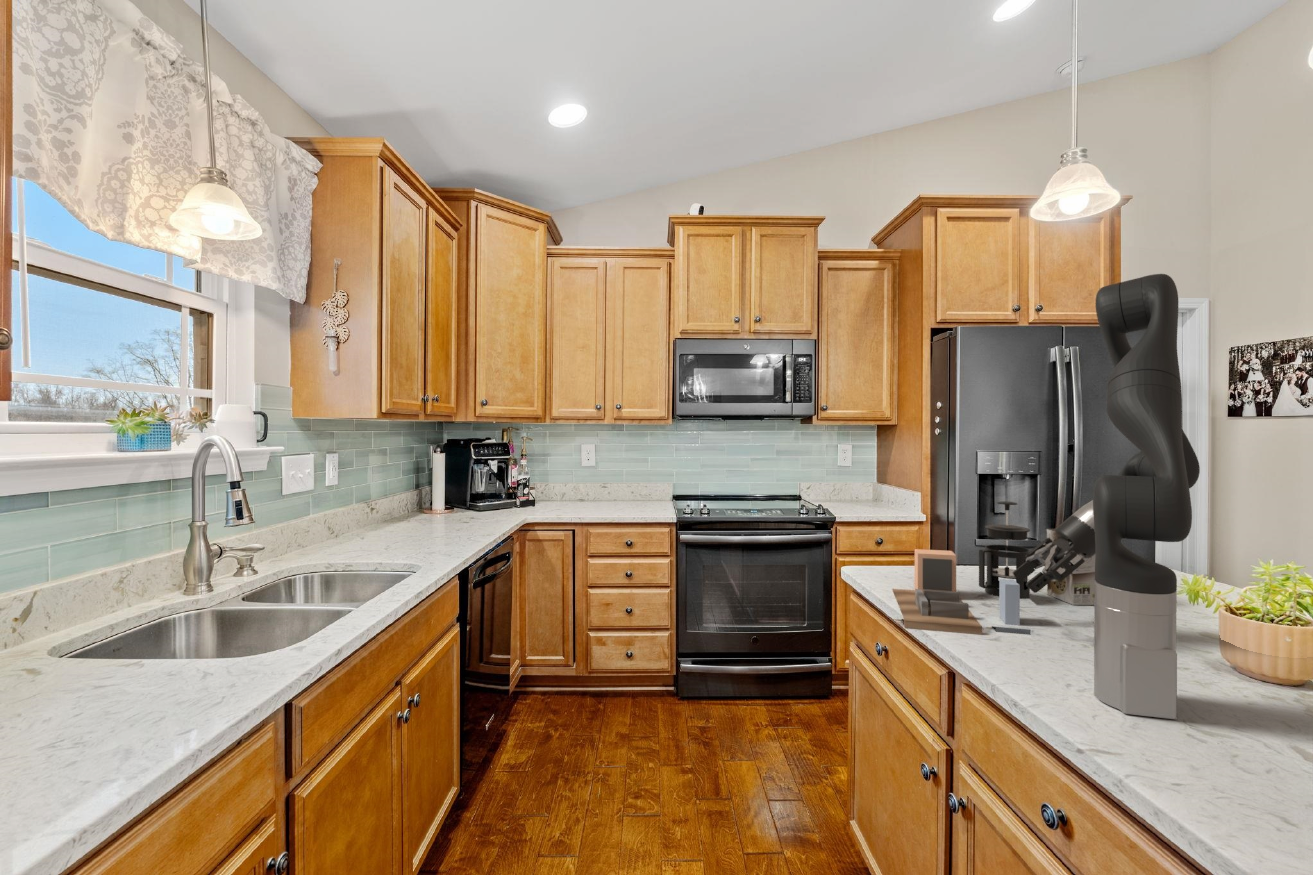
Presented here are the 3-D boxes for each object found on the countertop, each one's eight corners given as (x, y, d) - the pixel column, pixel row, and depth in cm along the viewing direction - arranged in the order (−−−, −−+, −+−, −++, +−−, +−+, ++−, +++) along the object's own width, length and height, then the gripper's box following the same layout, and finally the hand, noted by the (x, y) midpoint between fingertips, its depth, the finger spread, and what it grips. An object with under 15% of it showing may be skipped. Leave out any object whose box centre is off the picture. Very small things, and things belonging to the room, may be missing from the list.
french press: (1014, 593, 140) (1015, 498, 140) (1043, 604, 131) (1043, 503, 130) (968, 594, 139) (968, 499, 139) (994, 606, 130) (994, 504, 129)
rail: (982, 634, 112) (982, 611, 112) (904, 627, 116) (904, 605, 116) (955, 599, 135) (955, 580, 135) (891, 594, 139) (891, 576, 139)
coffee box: (1100, 605, 130) (1101, 534, 130) (1072, 605, 130) (1072, 534, 130) (1072, 593, 139) (1072, 527, 139) (1045, 594, 139) (1045, 527, 139)
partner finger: (956, 600, 129) (956, 555, 129) (918, 597, 132) (918, 553, 132) (951, 593, 135) (951, 550, 135) (914, 590, 137) (914, 549, 137)
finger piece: (1030, 634, 112) (1030, 586, 112) (995, 632, 114) (996, 584, 113) (1022, 626, 117) (1022, 579, 117) (989, 623, 118) (989, 577, 118)
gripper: (1060, 508, 119) (997, 560, 122) (1090, 520, 105) (1019, 578, 108) (1090, 535, 117) (1026, 587, 121) (1125, 550, 104) (1051, 608, 107)
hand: (1022, 583), depth 115 cm, fingers open, 8 cm apart
